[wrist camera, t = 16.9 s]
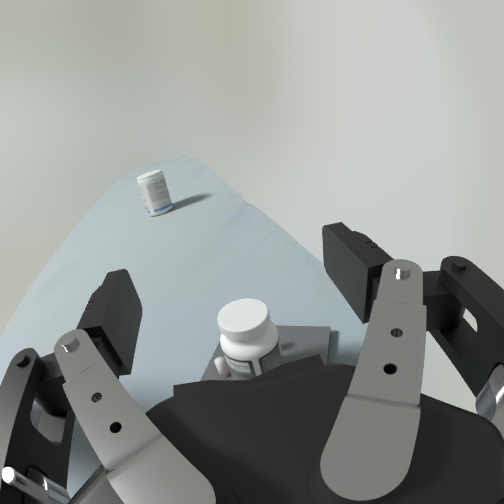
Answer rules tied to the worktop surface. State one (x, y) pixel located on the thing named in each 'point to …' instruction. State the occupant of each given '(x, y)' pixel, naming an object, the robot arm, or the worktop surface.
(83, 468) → the worktop surface
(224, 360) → the grey pegged board
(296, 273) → the worktop surface
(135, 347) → the robot arm
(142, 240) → the worktop surface
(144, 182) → the supplement tub
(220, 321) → the pill bottle
